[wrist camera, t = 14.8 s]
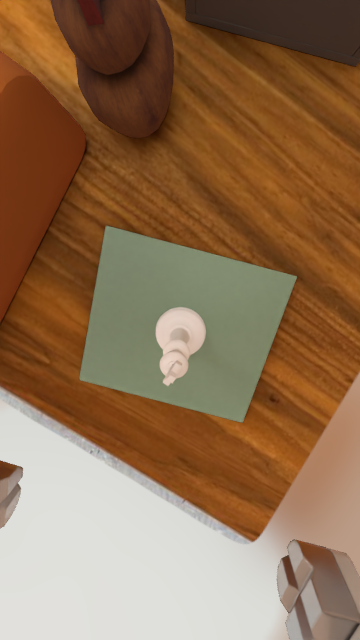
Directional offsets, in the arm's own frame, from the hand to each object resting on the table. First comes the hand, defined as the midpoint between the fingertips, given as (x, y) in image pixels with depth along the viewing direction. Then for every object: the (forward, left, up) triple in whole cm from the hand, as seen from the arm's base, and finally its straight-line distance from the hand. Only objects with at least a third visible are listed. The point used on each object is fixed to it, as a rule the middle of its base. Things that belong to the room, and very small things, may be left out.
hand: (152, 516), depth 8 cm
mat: (0, 0, -19) cm, 19 cm away
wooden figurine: (+8, -18, -20) cm, 28 cm away
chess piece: (0, 0, -19) cm, 19 cm away
